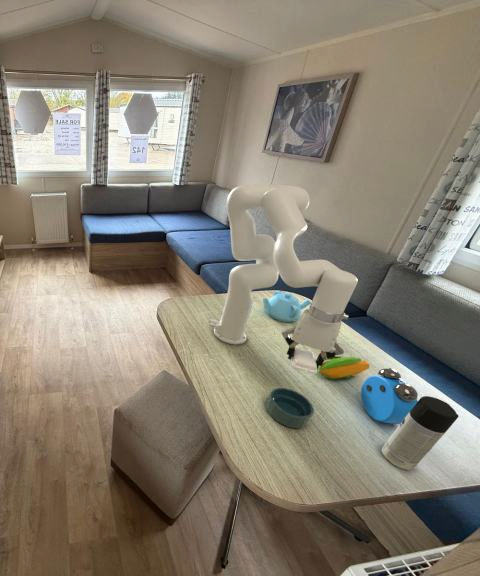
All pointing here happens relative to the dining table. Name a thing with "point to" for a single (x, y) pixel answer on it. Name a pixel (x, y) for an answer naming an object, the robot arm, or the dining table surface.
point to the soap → (303, 361)
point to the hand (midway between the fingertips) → (302, 361)
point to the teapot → (284, 307)
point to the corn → (342, 367)
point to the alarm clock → (388, 397)
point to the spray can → (419, 432)
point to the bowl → (289, 408)
